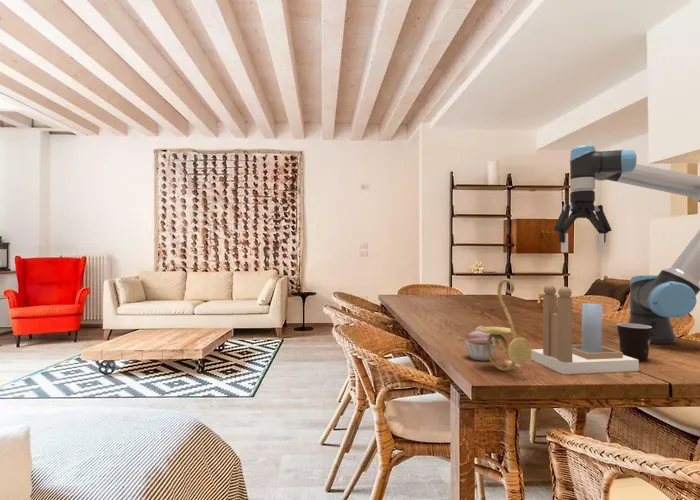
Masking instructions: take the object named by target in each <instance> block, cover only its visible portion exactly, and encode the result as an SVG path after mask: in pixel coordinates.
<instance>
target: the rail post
mask: <svg viewBox="0 0 700 500" xmlns="http://www.w3.org/2000/svg"><path fill="white" fill-rule="evenodd" d="M581 304H582V305H581V306H582V307H581V345H582V348H581V350H582V351H585V352H587V353H599V352H602V346H603V316H604V315H603V309H604V308H603V304H599V303H589V302H588V303H587V302H583V303H581Z"/></svg>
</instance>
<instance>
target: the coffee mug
mask: <svg viewBox="0 0 700 500" xmlns="http://www.w3.org/2000/svg"><path fill="white" fill-rule="evenodd" d="M616 327H617V334H618V342H619V350H620V351H619V352H623V355H625V356H628V357H631V358H634V359H638V360H639V363H646V362H648V360H649V359H648V358H649V351H650V344H651V343H650V338H651V331H652V327H651V326H648V325H642V324H632V323H628V322H624V323H623V322H622V323H621V322H620V323H617V324H616Z"/></svg>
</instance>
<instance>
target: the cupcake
mask: <svg viewBox="0 0 700 500" xmlns="http://www.w3.org/2000/svg"><path fill="white" fill-rule="evenodd" d="M482 327H484V326H483V325H479V326H477V327H476V328H475V329H474V330H473V331H470V332H469V333H468V339H466V341H464V344H465V347H466V348H467V350H468V351H467V352H468V355H469V358H470V359H471V360H474V361H480V362H481V361H482V362H486V361H490V359H489V357H488V354H487V340H488V337H489V335H490V334H488V333H484V332H482V331H480V330H479V328H482ZM494 340H495V338H494V337H492V339H491V342H490V351H491V355H492V357H493V356H494V355H493V354H494V351H495V348H496V347H497V346H495V344H496V343H495V341H494Z"/></svg>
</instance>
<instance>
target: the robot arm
mask: <svg viewBox="0 0 700 500" xmlns="http://www.w3.org/2000/svg"><path fill="white" fill-rule="evenodd" d="M569 159H570V160H569V164H570V165H569V167H570V168H569V170H570V172H569V173H570V175H569V176H570V179H569V180H570V182H569V183H570V185H569V186H570V193H569V194H570V195H569V196H570V197H569V198H570V199H569V200H570V201H569V202H570V204H563V205H562V206H561V207H562V208H561V213H560V214H559V217H558V218H557V220H556V223H555V225H554V226H553V227H554V228H553V231H554V232H556V233H557V234H558V238H559V239H558V241H559V243H560V253H569V233H568V232H567V231H569V228H570V227H571V226H572V225H573V223H574V222H575V221H576V220H577V219H581V218H582V219H587V220H588V221H589V222H590V223H591V225H592V226H593V227H594V228H595V230H596V231H597V233H596V234H595V235H596V243H595V244H596V245H595V246H596V253H605V243H606V239H607V238H606V236H607V234H608V233H609V232H612V228H611V226H610V225H611V224H610V223H609V221H608V219H607V216H606V215H605V212H604V205H602V204H599V205H598V204H597V205H595V201H596V191H595V189H596V181H610V182H617V183H621V184H627V185H631V186H636V187H641V188H646V189H649V190H655V191H660V192H664V193H670V194H675V195H679V196H684V197H689V198H692V200H693V201H694V202H698V203H700V175H698V174H691V173H687V172H681V171H678V170H677V171H676V170H671V169H665V168H660V167H655V166H649V165H645V164H639V163H637V154H636V151H635V150H633V149H623V148H622V149H617V150H616V149H615V150H602V151H601V150H596V147H595V146H594V145H591V144H584V145H582V144H581V145H578V146H574V147H573V148H571V150H570V158H569ZM570 211H571V213H570ZM569 213H570V214H569ZM699 292H700V229H699V230H698V231H697V232H696V233H695V235H694V237H692V238H691V240H690V241H689V243H687V245H686V246H685V248H684V249H683V251H681V253H680V254H679V256H678V257H677V259H676V260H675V261H674V263H672V264H671V266H670V268H666V269H665V268H664V269H662V270H661V271H660V272H659V274H658V275H657V274H655V275H647V274H645V275H633V276H632V277H631V278H630V283H629V303H630V304H629V308H630V311H629V314H630V315H629V320H628V322H627V323H632V324H642V325H648V326H651V327H652V331H651V338H650V344H655V345H656V344H658V345H661V344H662V345H670V344H676V342H677V336H676V334H675V333H674V328H673V326H672V323H671V321H670V320H671V319H678V318H683V317H685V316H687V315H689V314H690V313H692V312H693V310H694V309H695V307H696V305H697V302H698V301H697V295H698V294H699Z"/></svg>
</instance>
